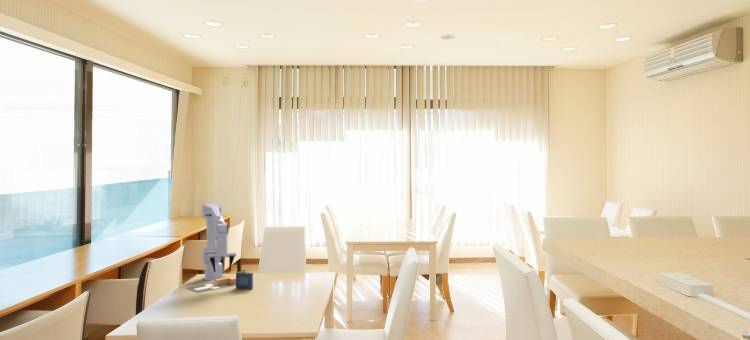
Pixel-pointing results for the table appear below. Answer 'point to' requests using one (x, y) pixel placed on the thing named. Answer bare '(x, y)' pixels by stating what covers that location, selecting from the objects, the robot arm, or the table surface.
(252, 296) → the table surface
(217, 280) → the t block
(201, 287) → the mat
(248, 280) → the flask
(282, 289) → the table surface
